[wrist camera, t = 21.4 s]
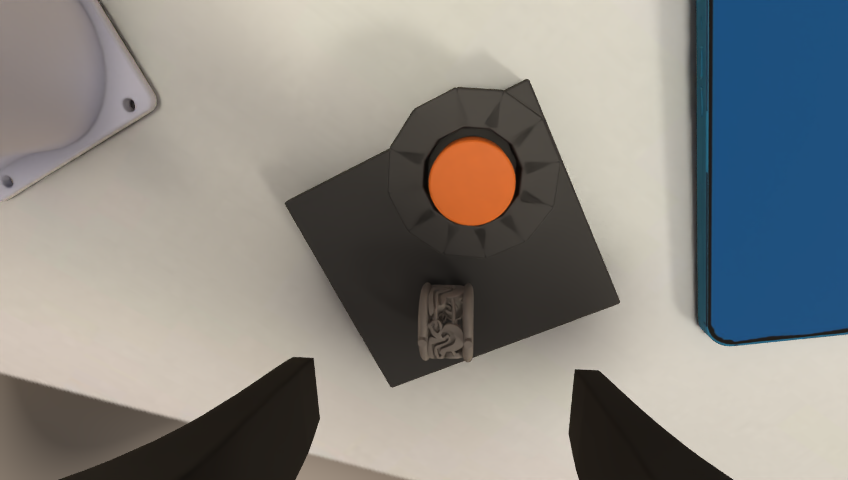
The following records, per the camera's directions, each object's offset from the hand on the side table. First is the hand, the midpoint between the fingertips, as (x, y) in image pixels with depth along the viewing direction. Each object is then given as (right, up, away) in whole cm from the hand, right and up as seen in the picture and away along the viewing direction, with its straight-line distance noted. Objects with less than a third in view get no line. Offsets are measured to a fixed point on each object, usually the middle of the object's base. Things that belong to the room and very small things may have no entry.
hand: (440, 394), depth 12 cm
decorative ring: (+1, +2, +5) cm, 6 cm away
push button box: (+1, +4, +6) cm, 7 cm away
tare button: (+1, +6, +3) cm, 7 cm away
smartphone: (+13, +8, +4) cm, 16 cm away
